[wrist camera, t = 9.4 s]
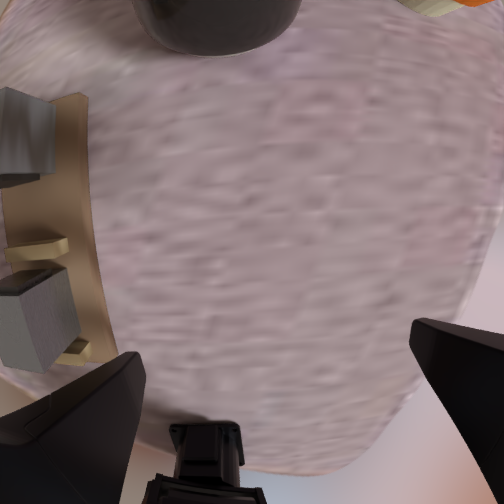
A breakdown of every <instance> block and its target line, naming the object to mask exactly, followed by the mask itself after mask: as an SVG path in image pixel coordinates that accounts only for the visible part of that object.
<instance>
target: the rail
mask: <svg viewBox="0 0 504 504" xmlns="http://www.w3.org/2000/svg"><path fill="white" fill-rule="evenodd" d="M87 117H88V97H87V96H85V95H83V94H81V93H80V92H79V93H75V94H72V95H69V96H66V97H63V98H60V99H57V100H54V101H51V102H46V101H43V100H40V99H38V98H35V97H33V96H30V95H27V94H25V93H22V92H19V91H17V90H14V89H11V88H8V87H4V88H2V89H0V189H2V202H3V213H4V222H5V230H6V238H7V244H8V248H5V249H4V252H5V257H6V263H7V262H11V267H12V272H13V274H14V273H16V272H18V271H20V270H33V269H48V268H51V269H59V268H67V271H68V276H69V281H70V285H71V290H72V295H73V299H74V303H75V307H76V311H77V315H78V319H79V323H80V326H81V330H82V332H81V333H80V334H79V335H78V337H77V338H76V339H75V340H74V341H73V342H72V343H71V344H70V345H69V346H68V347H67V349H66V350H65V351H64V352H63V353H62V354H61V355H60V356H59V357H58V359H57V360H56V361H55V362H54V363H56V364H65V365H75V366H84V365H85V363H86V362H96V363H107V362H109V361H111V360H112V359H114V358H116V357H117V355H118V350H117V347H116V343H115V339H114V336H113V332H112V328H111V324H110V319H109V315H108V311H107V306H106V302H105V297H104V292H103V287H102V282H101V277H100V271H99V265H98V259H97V253H96V246H95V239H94V231H93V223H92V214H91V203H90V191H89V176H88V151H87Z"/></svg>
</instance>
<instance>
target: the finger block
mask: <svg viewBox="0 0 504 504" xmlns="http://www.w3.org/2000/svg"><path fill="white" fill-rule="evenodd" d="M81 332H82V330H81V326H80V323H79V319H78V315H77V311H76V307H75V303H74V299H73V295H72V290H71V285H70V281H69V276H68V271H67V268H59V269H51V268H48V269H33V270H20V271H18V272H16V273H14V274H12V275H10V276H8V277H5V278H3V279H1V280H0V357H1V360H2V362H3V365H4V366H6V367H10V368H15V369H20V370H26V371H31V372H37V373H43V374H44V373H45V372H46V371H47V370H48V369H49V368H50V367H51V365H52V364H53V363H54V362H55V361H56V360H57V359H58V357H59V356H60V355H61V354H62V353H63V352H64V351H65V350H66V349H67V347H68V346H69V345H70V344H71V343H72V342H73V341H74V340H75V339H76V338H77V337H78V335H79V334H80V333H81Z"/></svg>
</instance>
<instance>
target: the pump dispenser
mask: <svg viewBox="0 0 504 504" xmlns="http://www.w3.org/2000/svg"><path fill="white" fill-rule="evenodd" d="M301 2H302V0H132V3H133V6H134V9H135V12H136V15H137V17H138V19H139V21H140V23H141V25H142V26H143V28H144V29H145V31H146V32H147V33H148V34H149V35H150V36H151V37H152V38H153V39H154V40H155V41H157V42H158V43H160V44H161V45H163V46H165V47H167V48H169V49H172V50H174V51H177V52H181V53H185V54H188V55H192V56H196V57H203V58H226V57H232V56H237V55H241V54H244V53H247V52H250V51H252V50H254V49H257V48H258V47H260V46H263V45H265V44H267V43H269V42H270V41H272V40H274V39H275V38H277V37H278V36H280V35H281V34H282V33H283V32H284V31H285V30H286V29H287V28H288V27H289V26H290V25H291V23H292V22H293V21H294V19H295V17H296V15H297V13H298V10H299V8H300V5H301Z"/></svg>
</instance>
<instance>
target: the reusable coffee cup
mask: <svg viewBox="0 0 504 504" xmlns="http://www.w3.org/2000/svg"><path fill="white" fill-rule="evenodd" d="M398 1H399V2H400V3H402V4H403V5H405V6H406V7H408V8H410V9H412V10H414V11H416V12H418V13H420V14H423V15H426V16H431V17H438V16H441V15H443V14H446V13H448V12H450V11H453V10H455V9H458V8H460V7H463V6H465V5H466V6H470V7H476V6H479V5H482V4H485V3H488V2H491V1H494V0H398Z"/></svg>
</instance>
